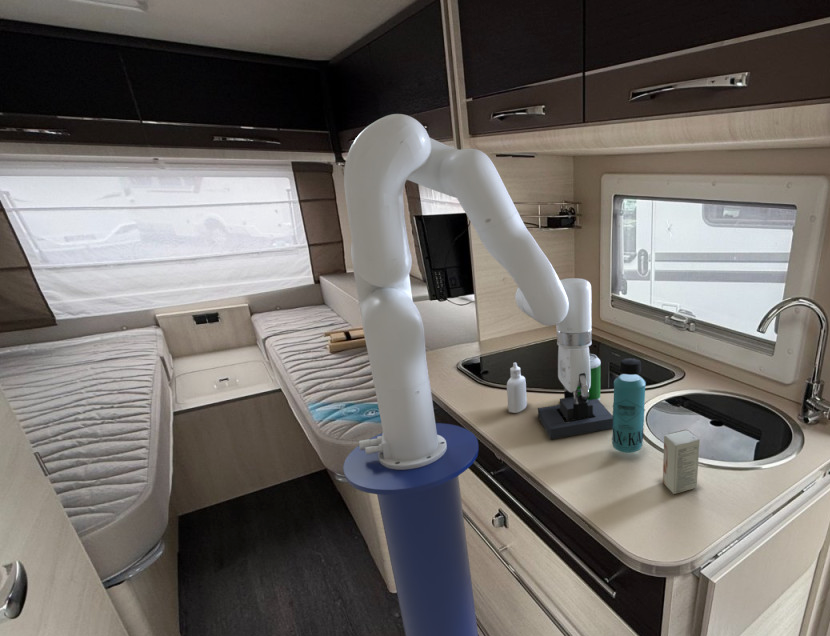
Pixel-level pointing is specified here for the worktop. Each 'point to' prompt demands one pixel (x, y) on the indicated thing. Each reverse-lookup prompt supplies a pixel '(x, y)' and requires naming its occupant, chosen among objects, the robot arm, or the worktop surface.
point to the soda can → (594, 378)
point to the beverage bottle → (628, 407)
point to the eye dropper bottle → (516, 390)
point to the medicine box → (680, 461)
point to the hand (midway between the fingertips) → (575, 411)
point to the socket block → (559, 428)
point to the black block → (567, 408)
